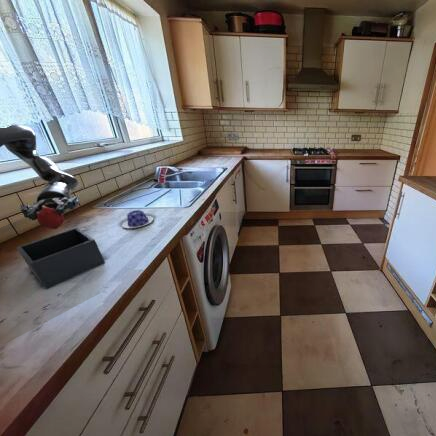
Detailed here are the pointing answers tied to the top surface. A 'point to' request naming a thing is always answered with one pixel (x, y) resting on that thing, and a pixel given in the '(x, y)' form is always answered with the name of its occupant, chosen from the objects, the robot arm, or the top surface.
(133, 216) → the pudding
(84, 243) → the trash bin
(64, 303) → the top surface
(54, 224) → the onion
